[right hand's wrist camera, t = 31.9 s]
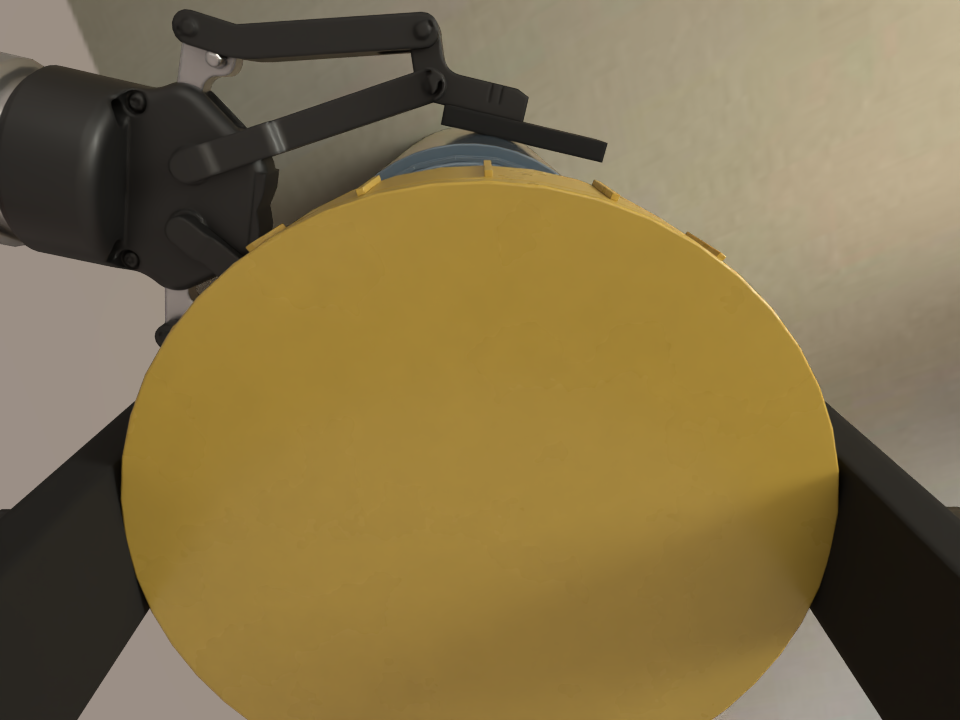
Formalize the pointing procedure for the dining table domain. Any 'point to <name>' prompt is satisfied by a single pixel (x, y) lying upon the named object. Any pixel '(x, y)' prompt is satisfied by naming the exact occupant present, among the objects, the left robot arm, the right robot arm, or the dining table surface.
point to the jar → (463, 154)
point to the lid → (479, 463)
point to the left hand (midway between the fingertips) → (564, 273)
